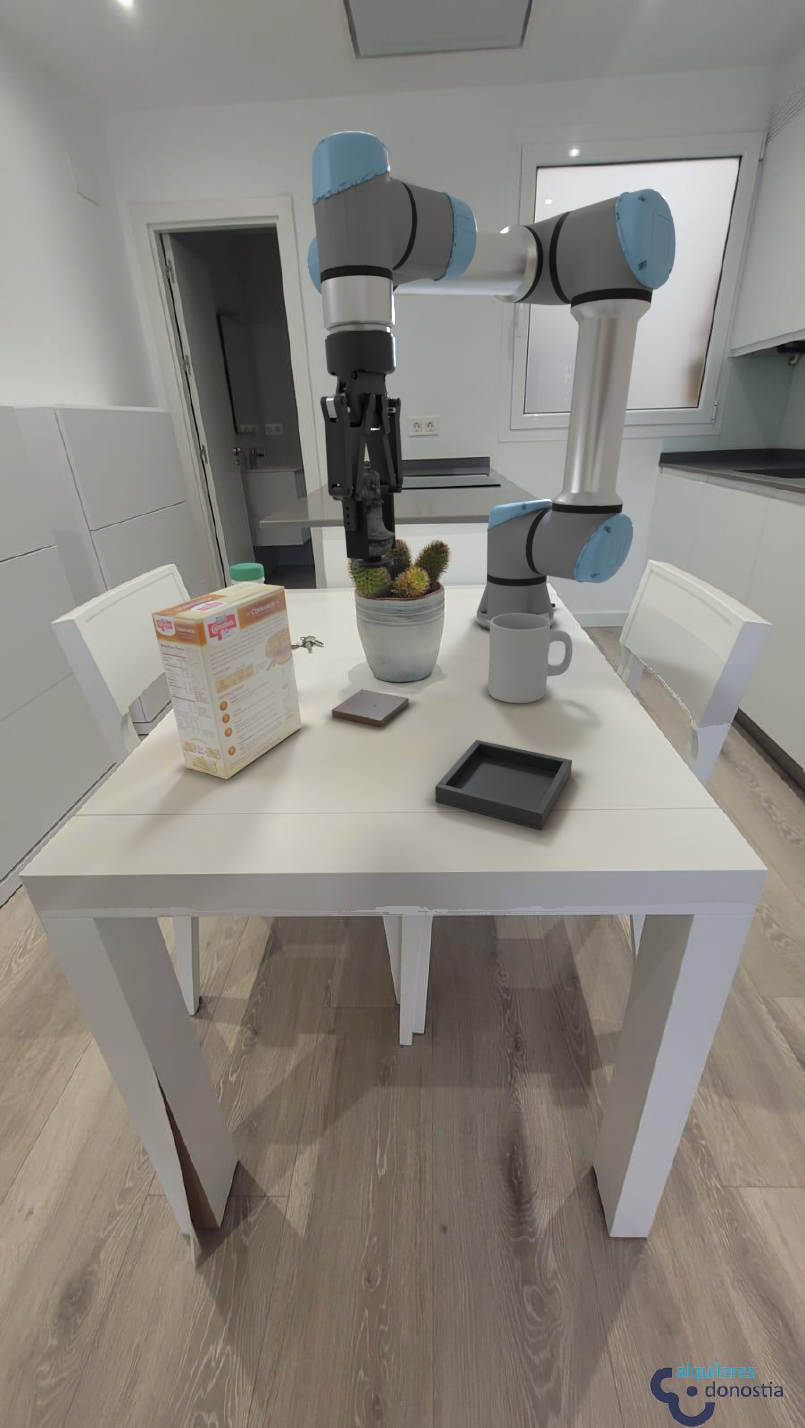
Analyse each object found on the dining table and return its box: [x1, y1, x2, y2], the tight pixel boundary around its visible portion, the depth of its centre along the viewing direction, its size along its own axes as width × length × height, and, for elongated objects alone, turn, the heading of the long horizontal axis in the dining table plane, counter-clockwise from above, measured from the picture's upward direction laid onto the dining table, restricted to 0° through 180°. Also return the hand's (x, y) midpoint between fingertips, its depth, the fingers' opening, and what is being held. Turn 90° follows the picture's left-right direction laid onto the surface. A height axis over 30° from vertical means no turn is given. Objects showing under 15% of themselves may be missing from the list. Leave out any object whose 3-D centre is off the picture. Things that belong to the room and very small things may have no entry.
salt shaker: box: [351, 459, 396, 570], centre depth 72 cm, size 6×6×12 cm
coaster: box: [331, 688, 410, 728], centre depth 85 cm, size 8×8×1 cm
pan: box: [434, 739, 573, 831], centre depth 65 cm, size 12×12×2 cm
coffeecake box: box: [150, 582, 303, 780], centre depth 72 cm, size 15×7×20 cm, turn 152°
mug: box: [487, 613, 573, 704], centre depth 87 cm, size 12×8×11 cm
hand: (372, 552), depth 74 cm, fingers closed on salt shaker, 6 cm apart
